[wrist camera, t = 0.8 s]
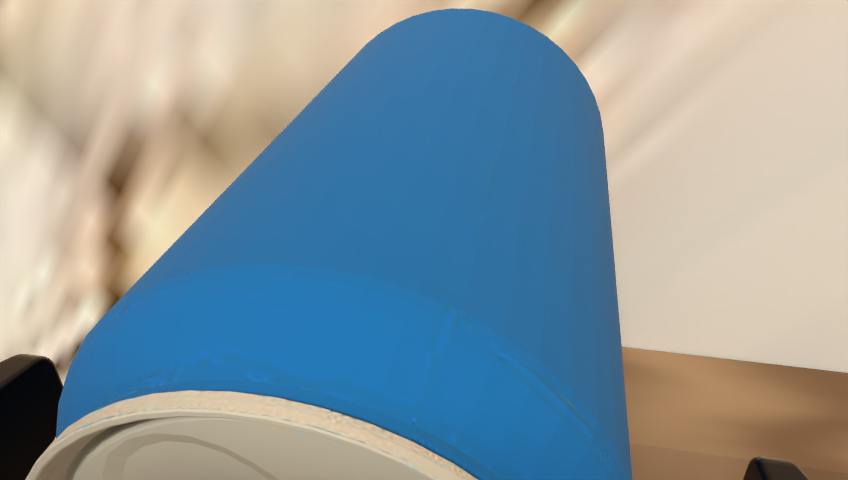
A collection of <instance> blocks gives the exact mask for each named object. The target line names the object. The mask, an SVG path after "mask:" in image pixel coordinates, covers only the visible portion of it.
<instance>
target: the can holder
mask: <svg viewBox="0 0 848 480" xmlns="http://www.w3.org/2000/svg"><path fill="white" fill-rule="evenodd" d="M622 359H623V371H624V383H625V394H626V406H627V418H628V430H629V441H630V453H631V465H632V477H633V480H743V478H744V475H745V472H746V470H747V467H748V464H749V462H750V461H751V459H752V458H754V457H756V456H763V457H770V458H777V459H784V460H789V461H791V462H793V463H794V464H796V465H797V466H798V467H799V468H800V469H801V470H802V471H803V472H804V474H805V475H806V476H807V477H808V478H809V479H810V480H848V373H842V372H833V371H824V370H816V369H807V368H798V367H790V366H781V365H772V364H764V363H755V362H746V361H738V360H729V359H720V358H712V357H703V356H694V355H685V354H677V353H668V352H659V351H651V350H642V349H633V348H625V347H622Z"/></svg>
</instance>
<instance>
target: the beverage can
mask: <svg viewBox="0 0 848 480" xmlns="http://www.w3.org/2000/svg"><path fill="white" fill-rule="evenodd" d="M25 480H633V477H632V465H631V453H630V441H629V430H628V418H627V406H626V394H625V383H624V371H623V359H622V347H621V335H620V324H619V312H618V300H617V288H616V277H615V265H614V253H613V241H612V229H611V218H610V206H609V194H608V182H607V170H606V159H605V147H604V135H603V128H602V122H601V116H600V112H599V109H598V106H597V103H596V100H595V97H594V95H593V93H592V91H591V89H590V87H589V85H588V83H587V81H586V79H585V77H584V76H583V74H582V73H581V72H580V70H579V69H578V67H577V66H576V64H575V63H574V62H573V61H572V60H571V59H570V58H569V56H568V55H567V54H566V53H565V52H564V51H563V50H562V49H561V48H560V47H559V46H557V45H556V44H555V43H554V42H553V41H551V40H550V39H549V38H548V37H546V36H545V35H543V34H542V33H540V32H538V31H537V30H535V29H534V28H532V27H530V26H528V25H526V24H524V23H522V22H520V21H517V20H515V19H513V18H510V17H507V16H504V15H500V14H497V13H493V12H489V11H482V10H475V9H445V10H437V11H430V12H427V13H423V14H419V15H415V16H412V17H410V18H408V19H405V20H403V21H401V22H398V23H396V24H394V25H393V26H391V27H389V28H388V29H386V30H384V31H383V32H381V33H380V34H378V35H377V36H376V37H375V38H374V39H372V40H371V41H370V42H369V43H367V44H366V45H365V46H364V47H363V48H362V49H361V50H360V52H359V53H358V54H357V55H356V56H355V57H354V58H353V59H352V60H351V61H350V62H349V63H348V64H347V65H346V66H345V67H344V68H343V69H342V70H341V71H340V72H339V73H338V74H337V75H336V76H335V77H334V78H333V79H332V80H331V82H330V83H329V84H328V85H327V86H326V87H325V88H324V89H323V90H322V91H321V92H320V93H319V94H318V95H317V96H316V97H315V98H314V99H313V100H312V101H311V102H310V103H309V104H308V105H307V106H306V107H305V108H304V109H303V110H302V112H301V113H300V114H299V115H298V116H297V117H296V118H295V119H294V120H293V121H292V122H291V123H290V124H289V125H288V126H287V127H286V128H285V129H284V130H283V131H282V132H281V133H280V134H279V135H278V136H277V137H276V138H275V139H274V140H273V142H272V143H271V144H270V145H269V146H268V147H267V148H266V149H265V150H264V151H263V152H262V153H261V154H260V155H259V156H258V157H257V158H256V159H255V160H254V161H253V162H252V163H251V164H250V165H249V166H248V167H247V168H246V169H245V170H244V172H243V173H242V174H241V175H240V176H239V177H238V178H237V179H236V180H235V181H234V182H233V183H232V184H231V185H230V186H229V187H228V188H227V189H226V190H225V191H224V192H223V193H222V194H221V195H220V196H219V197H218V198H217V199H216V200H215V202H214V203H213V204H212V205H211V206H210V207H209V208H208V209H207V210H206V211H205V212H204V213H203V214H202V215H201V216H200V217H199V218H198V219H197V220H196V221H195V222H194V223H193V224H192V225H191V226H190V227H189V228H188V229H187V230H186V232H185V233H184V234H183V235H182V236H181V237H180V238H179V239H178V240H177V241H176V242H175V243H174V244H173V245H172V246H171V247H170V248H169V249H168V250H167V251H166V252H165V253H164V254H163V255H162V256H161V257H160V258H159V259H158V260H157V262H156V263H155V264H154V265H153V266H152V267H151V268H150V269H149V270H148V271H147V272H146V273H145V274H144V275H143V276H142V277H141V278H140V279H139V280H138V281H137V282H136V283H135V284H134V285H133V286H132V287H131V288H130V289H129V290H128V292H127V293H126V294H125V295H124V296H123V297H122V298H121V299H120V300H119V301H118V302H117V303H116V304H115V305H114V306H113V307H112V308H111V309H110V310H109V311H108V312H107V313H106V314H105V315H104V316H103V318H102V319H101V320H100V321H99V322H98V323H97V324H96V325H95V327H94V328H93V329H92V330H91V331H90V332H89V333H88V334H87V336H86V338H85V339H84V341H83V343H82V345H81V346H80V348H79V350H78V352H77V354H76V355H75V357H74V359H73V361H72V363H71V365H70V367H69V370H68V373H67V376H66V380H65V383H64V386H63V390H62V393H61V397H60V400H59V403H58V415H57V428H56V439H55V440H54V441H53V442H52V443H51V444H50V445H49V447H48V448H47V449H46V450H45V451H44V453H43V454H42V455H41V456H40V457H39V458H38V460H37V461H36V462H35V464H34V466H33V467H32V469H31V471H30V473H29V474H28V476H27V478H26V479H25Z"/></svg>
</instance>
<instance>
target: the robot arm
mask: <svg viewBox="0 0 848 480" xmlns="http://www.w3.org/2000/svg"><path fill="white" fill-rule="evenodd" d="M62 390H63V384H62V382H61V379H60V377H59V374H58V372H57V369H56V367H55V365H54V363H53V361H51V360H50V359H49V358H47V357H43V356H36V355H29V354H19V355H15V356H13V357H10V358H8V359H6V360H4V361H2V362H0V480H25V479H26V478H27V476H28V474H29V473H30V471H31V469H32V467H33V466H34V464H35V462H36V461H37V460H38V458H39V457H40V456H41V455H42V454H43V453H44V451H45V450H46V449H47V448H48V447H49V445H50V444H51V443H52V442H53V441H54V439H55V437H56V428H57V415H58V403H59V400H60V397H61V393H62ZM743 480H810V479H809V478H808V477H807V476H806V475H805V474H804V472H803V471H802V470H801V469H800V468H799V467H798V466H797V465H796V464H794V463H793V462H791V461H789V460H784V459H777V458H770V457H763V456H756V457H754V458H752V459H751V461H750V462H749V464H748V467H747V470H746V472H745V475H744V478H743Z"/></svg>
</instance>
